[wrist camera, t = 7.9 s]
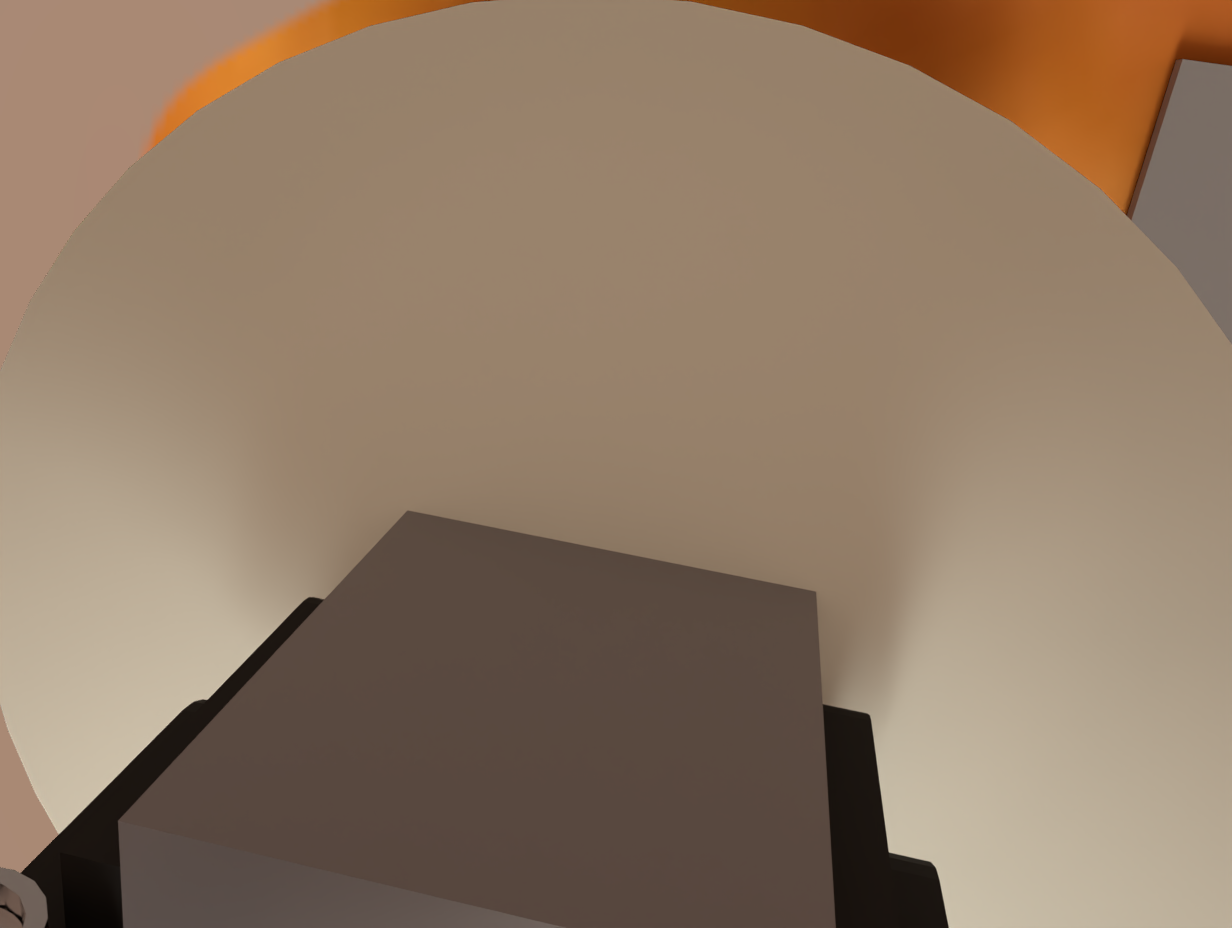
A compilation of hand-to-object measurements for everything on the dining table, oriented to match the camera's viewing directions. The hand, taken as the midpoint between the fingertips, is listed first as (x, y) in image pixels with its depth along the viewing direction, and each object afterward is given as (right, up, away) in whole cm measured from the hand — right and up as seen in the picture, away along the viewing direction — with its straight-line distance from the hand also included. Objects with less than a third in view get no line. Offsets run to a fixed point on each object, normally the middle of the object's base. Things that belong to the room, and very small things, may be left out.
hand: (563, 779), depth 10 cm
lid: (0, +1, +2) cm, 2 cm away
